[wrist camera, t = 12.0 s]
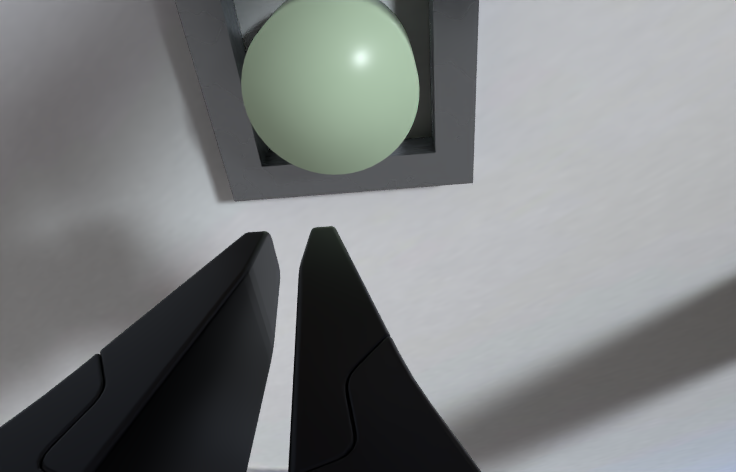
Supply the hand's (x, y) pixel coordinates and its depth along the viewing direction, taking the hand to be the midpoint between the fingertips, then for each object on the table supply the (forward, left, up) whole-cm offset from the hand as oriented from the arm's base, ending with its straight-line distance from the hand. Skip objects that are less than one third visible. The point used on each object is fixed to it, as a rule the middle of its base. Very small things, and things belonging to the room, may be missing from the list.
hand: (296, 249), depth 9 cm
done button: (0, 0, -10) cm, 10 cm away
